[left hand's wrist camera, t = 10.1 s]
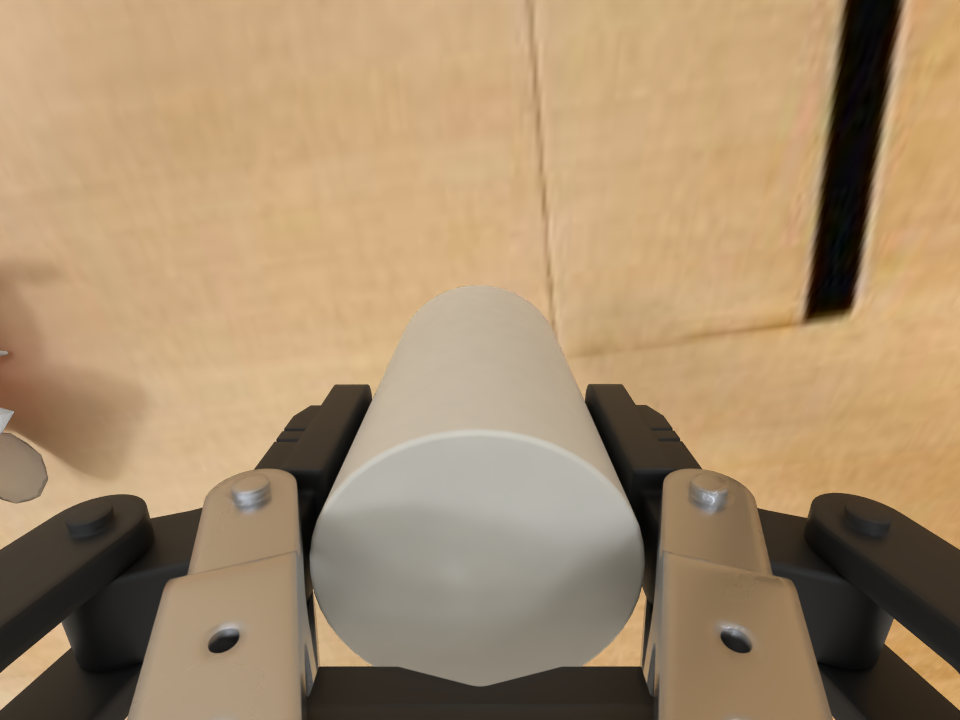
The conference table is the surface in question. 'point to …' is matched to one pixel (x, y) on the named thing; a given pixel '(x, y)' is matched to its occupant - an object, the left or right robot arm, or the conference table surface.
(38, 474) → the fish
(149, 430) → the conference table surface
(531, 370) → the can
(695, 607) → the left robot arm
